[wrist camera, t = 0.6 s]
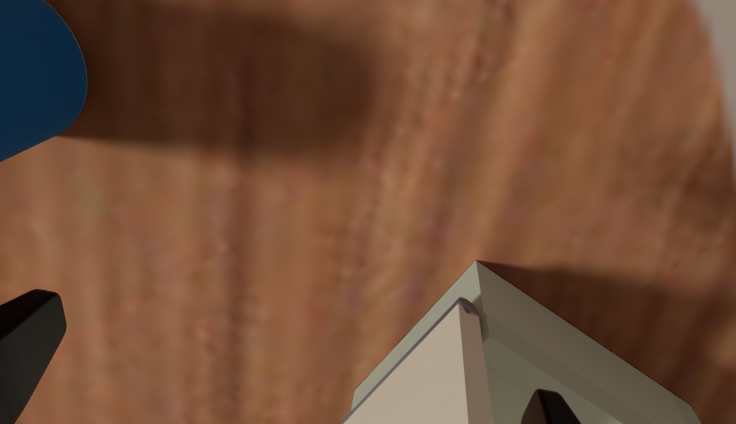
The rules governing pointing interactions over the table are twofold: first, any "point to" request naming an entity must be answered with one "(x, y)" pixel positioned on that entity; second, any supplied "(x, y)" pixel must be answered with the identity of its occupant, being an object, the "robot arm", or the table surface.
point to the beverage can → (37, 75)
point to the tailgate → (434, 378)
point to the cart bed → (543, 360)
